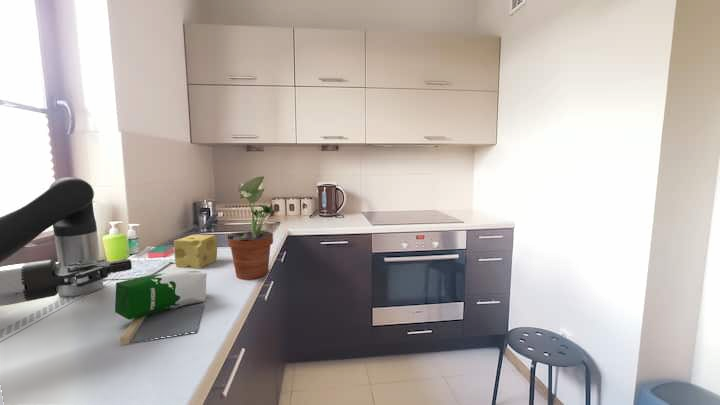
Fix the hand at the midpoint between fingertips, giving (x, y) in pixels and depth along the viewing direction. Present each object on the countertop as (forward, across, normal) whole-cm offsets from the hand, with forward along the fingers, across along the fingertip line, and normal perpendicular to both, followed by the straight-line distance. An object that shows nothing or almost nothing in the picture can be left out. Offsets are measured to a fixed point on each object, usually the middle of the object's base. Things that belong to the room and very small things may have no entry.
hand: (131, 264), depth 74 cm
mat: (+5, +6, -14) cm, 16 cm away
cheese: (+22, -38, -14) cm, 46 cm away
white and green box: (-3, +1, -8) cm, 8 cm away
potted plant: (+34, -14, -14) cm, 39 cm away
